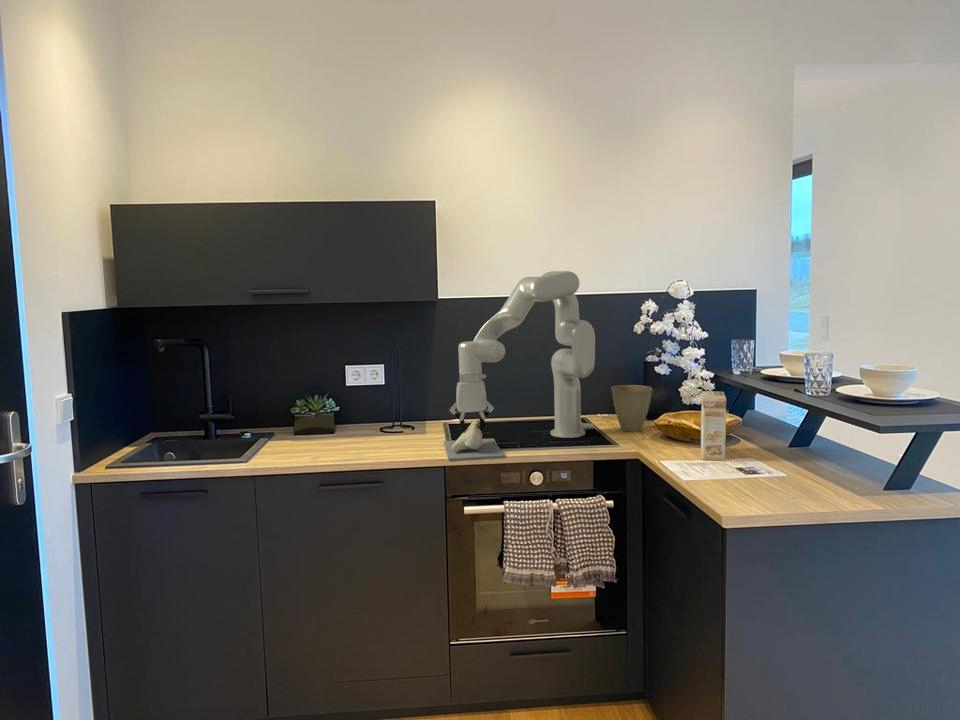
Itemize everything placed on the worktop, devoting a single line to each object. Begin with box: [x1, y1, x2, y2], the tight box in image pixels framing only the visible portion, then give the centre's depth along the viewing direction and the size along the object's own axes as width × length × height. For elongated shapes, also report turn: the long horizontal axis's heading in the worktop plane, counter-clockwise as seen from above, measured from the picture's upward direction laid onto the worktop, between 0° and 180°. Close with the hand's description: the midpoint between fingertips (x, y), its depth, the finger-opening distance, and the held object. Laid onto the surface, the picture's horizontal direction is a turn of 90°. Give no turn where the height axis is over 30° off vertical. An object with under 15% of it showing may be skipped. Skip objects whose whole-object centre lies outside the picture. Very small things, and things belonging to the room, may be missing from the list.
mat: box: [443, 438, 505, 462], centre depth 236 cm, size 18×24×1 cm
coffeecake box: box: [700, 390, 727, 462], centre depth 221 cm, size 15×7×20 cm, turn 164°
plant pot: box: [610, 384, 653, 433], centre depth 259 cm, size 15×15×16 cm
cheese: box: [452, 419, 483, 452], centre depth 234 cm, size 15×7×15 cm
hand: (472, 430), depth 235 cm, fingers closed on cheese, 5 cm apart
